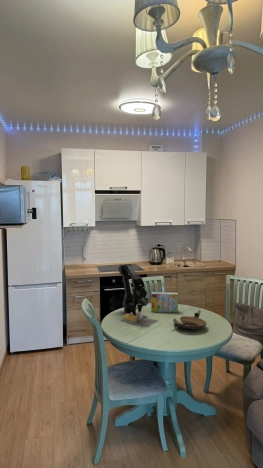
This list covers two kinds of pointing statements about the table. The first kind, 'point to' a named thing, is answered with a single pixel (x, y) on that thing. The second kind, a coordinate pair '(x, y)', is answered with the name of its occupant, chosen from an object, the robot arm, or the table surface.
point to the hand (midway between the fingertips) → (137, 315)
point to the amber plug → (130, 317)
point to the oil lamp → (191, 321)
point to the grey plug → (138, 314)
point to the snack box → (164, 302)
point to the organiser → (142, 321)
